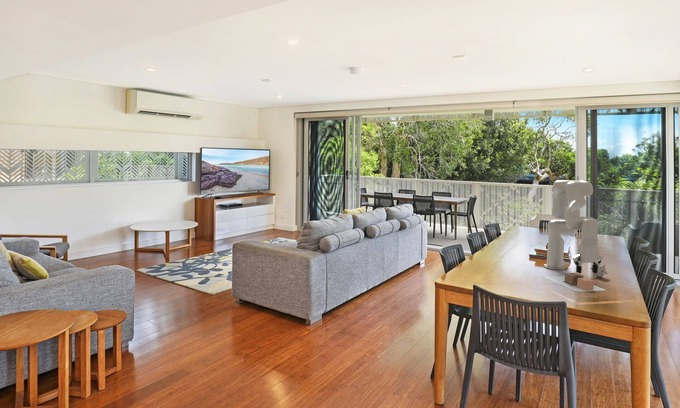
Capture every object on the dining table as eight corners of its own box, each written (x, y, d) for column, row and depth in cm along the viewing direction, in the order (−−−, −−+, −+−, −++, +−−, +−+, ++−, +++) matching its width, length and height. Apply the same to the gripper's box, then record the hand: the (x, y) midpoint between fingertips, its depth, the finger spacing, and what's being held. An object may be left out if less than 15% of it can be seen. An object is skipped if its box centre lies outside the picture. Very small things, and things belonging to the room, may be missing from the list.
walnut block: (574, 281, 241) (575, 272, 241) (582, 284, 235) (583, 275, 234) (564, 281, 240) (564, 272, 240) (572, 284, 234) (572, 276, 233)
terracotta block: (585, 286, 232) (586, 277, 231) (593, 289, 226) (594, 280, 226) (577, 286, 231) (577, 277, 230) (584, 289, 225) (584, 280, 225)
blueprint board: (570, 277, 253) (570, 275, 253) (606, 292, 225) (606, 289, 225) (543, 278, 250) (543, 276, 250) (576, 293, 222) (576, 291, 222)
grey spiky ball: (595, 282, 257) (590, 266, 262) (610, 279, 252) (606, 264, 257) (591, 277, 251) (587, 262, 256) (607, 274, 246) (602, 259, 251)
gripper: (597, 240, 231) (595, 270, 232) (569, 240, 228) (567, 271, 229) (608, 242, 223) (606, 274, 225) (579, 242, 221) (577, 274, 222)
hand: (586, 272), depth 227 cm, fingers open, 9 cm apart
